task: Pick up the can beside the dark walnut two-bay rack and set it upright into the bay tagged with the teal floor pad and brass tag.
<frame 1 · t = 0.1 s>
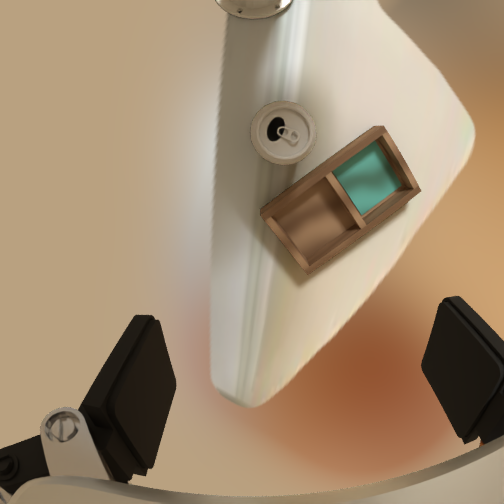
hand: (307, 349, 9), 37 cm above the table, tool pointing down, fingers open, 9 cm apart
rack: (339, 196, 44), on the table
can: (278, 134, 41), on the table
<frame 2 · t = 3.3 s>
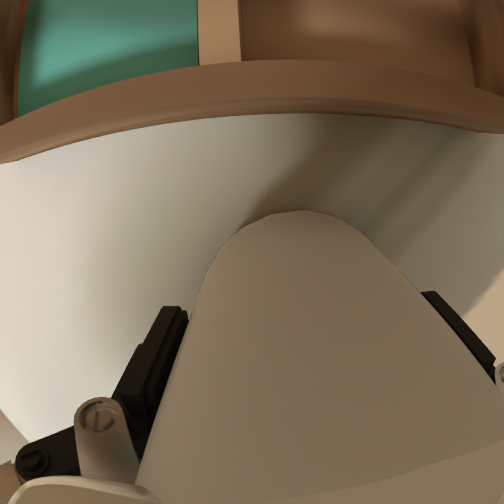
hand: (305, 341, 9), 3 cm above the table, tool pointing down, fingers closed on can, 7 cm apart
can: (294, 289, 13), on the table, touching gripper
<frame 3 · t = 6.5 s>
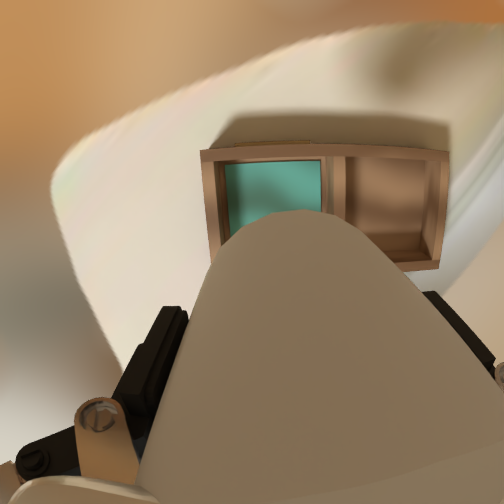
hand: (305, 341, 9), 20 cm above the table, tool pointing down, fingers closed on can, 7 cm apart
rack: (329, 203, 28), on the table
can: (294, 289, 13), point 16 cm above the table, touching gripper
when the fingers open (6 cm above the table, at t = 9.7 s): can drops 2 cm, resting on rack.
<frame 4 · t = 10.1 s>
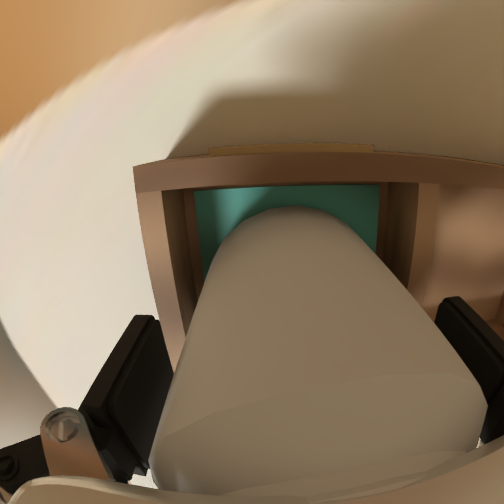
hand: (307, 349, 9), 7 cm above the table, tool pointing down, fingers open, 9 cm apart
rack: (383, 259, 15), on the table
can: (289, 276, 14), point 1 cm above the table, touching rack
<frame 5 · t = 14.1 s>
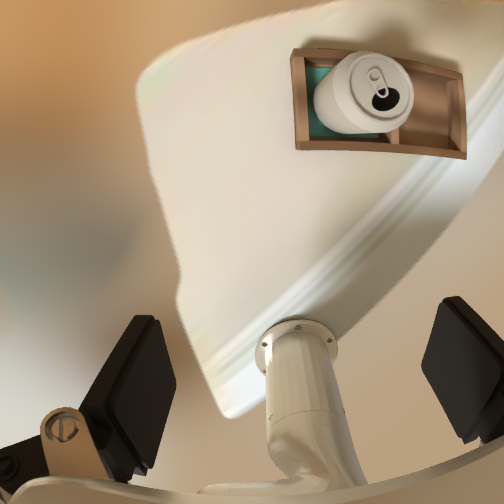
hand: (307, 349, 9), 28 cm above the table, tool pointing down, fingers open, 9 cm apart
rack: (380, 106, 31), on the table
can: (342, 103, 30), point 1 cm above the table, touching rack
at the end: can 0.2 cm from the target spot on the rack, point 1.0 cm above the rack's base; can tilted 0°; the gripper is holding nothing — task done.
